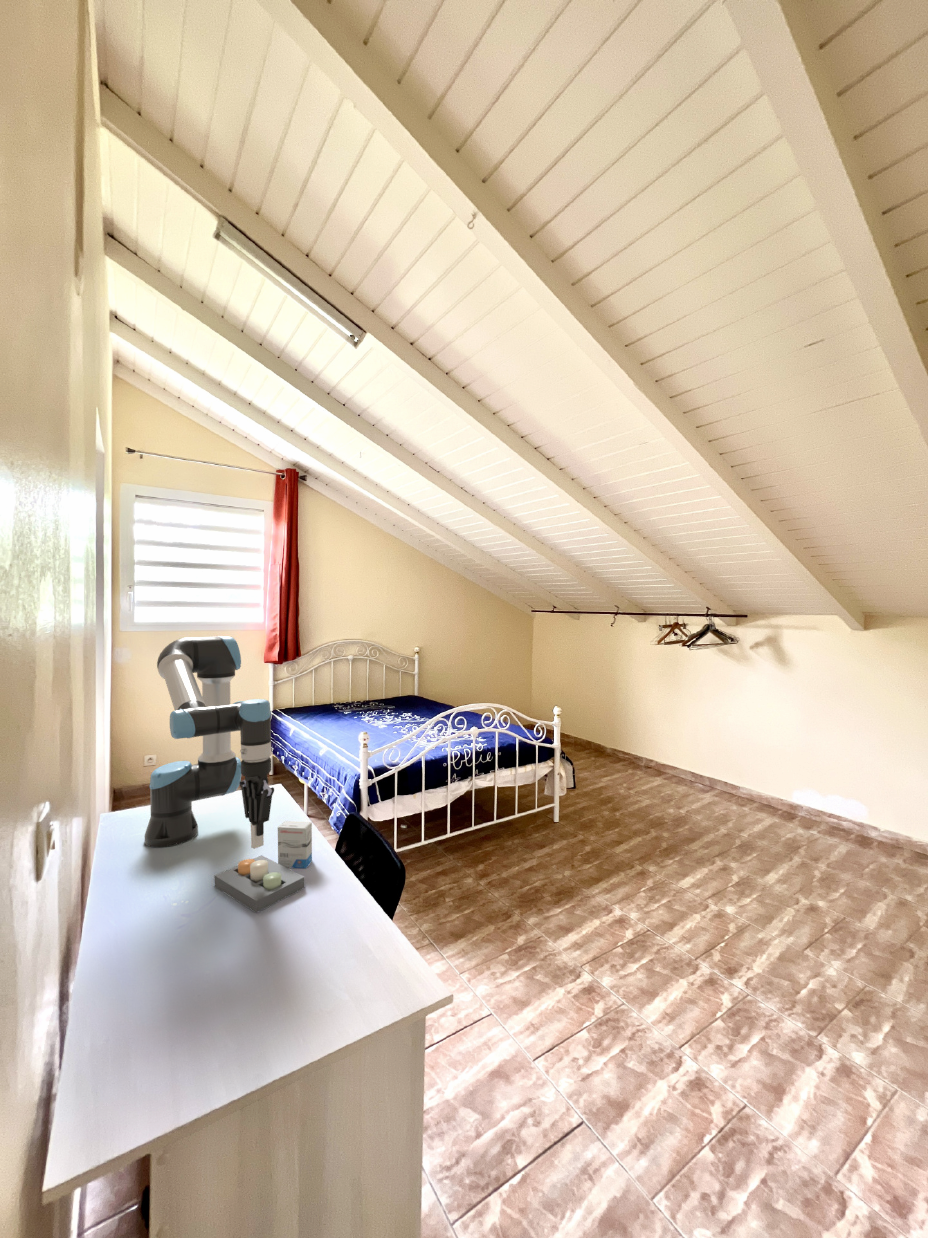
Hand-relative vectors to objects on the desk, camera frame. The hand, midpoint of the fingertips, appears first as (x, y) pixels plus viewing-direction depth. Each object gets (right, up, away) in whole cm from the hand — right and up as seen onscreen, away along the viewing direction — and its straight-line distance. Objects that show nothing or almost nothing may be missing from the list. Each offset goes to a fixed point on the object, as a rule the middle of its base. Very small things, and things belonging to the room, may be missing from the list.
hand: (257, 846), depth 139 cm
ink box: (+6, -11, +13) cm, 18 cm away
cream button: (0, -9, 0) cm, 9 cm away
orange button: (-4, -10, +4) cm, 12 cm away
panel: (0, -11, 0) cm, 11 cm away
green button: (+5, -10, -3) cm, 12 cm away
